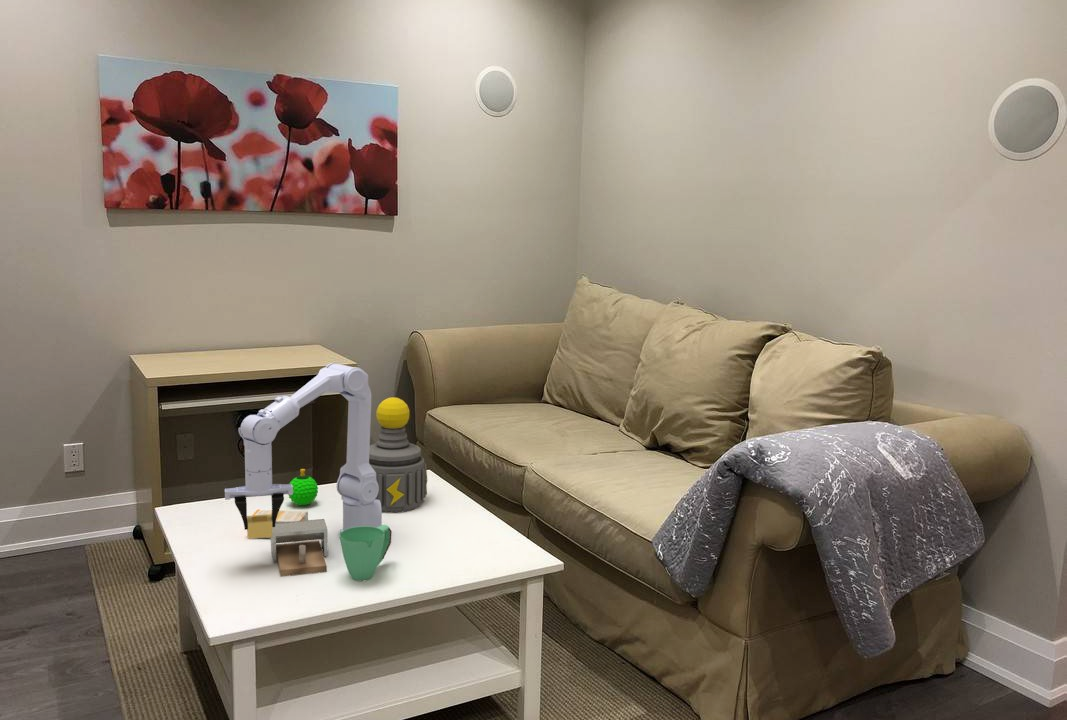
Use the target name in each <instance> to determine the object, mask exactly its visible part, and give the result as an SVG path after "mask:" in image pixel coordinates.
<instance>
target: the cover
mask: <svg viewBox="0 0 1067 720" xmlns="http://www.w3.org/2000/svg"><path fill="white" fill-rule="evenodd" d="M328 531H329V530H328V527H327V524H326V520H325V518H318V519H308V520H304V521H292V522H280V523H275V527H272V537H271V538H270V551H271V558H272V562H277V552H276V544H284V543H295V542H306V541H317V540H319V541H320V545H321V549H322V552H323V555H324V557H328V554H329V551H328V549H329V548H328V547H329V545H328V539H329V537H328V536H329V535H328V534H329V533H328Z"/></svg>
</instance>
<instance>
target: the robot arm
mask: <svg viewBox="0 0 1067 720" xmlns="http://www.w3.org/2000/svg"><path fill="white" fill-rule="evenodd" d="M330 392H332V393H339V394H340V395H342V397H344V399H346V400H347V401H348V402H347V403H348V407H347V408H348V409H347V434H346V435H347V437H346V438H347V439H346V442H347V443H346V463H345V464H344V465H342V466H341V467H340V469H339V476H338V478H337V480H336V491H337V493H338V494H339V495H340V496H341V497H340V498H341V500H342V528H339V534H340V533H341V532H342V531H344V530H346V529H348V528H352V527H360V526H370V527H376V528H378V527H379V526H381V525H383V524H382V523H383V522H382V519H383V518H382V513H383V512H382V510H381V503H380V500H375V498H376V497H377V495H378V491H379V486H378V483H377V480H376V472H375V471H374V470H373V468H372V467H371V465H370V464H369V450H370V445H371V444H370V443H371V418H372V416H371V415H372V391H371V387H370V386H369V374H368V373H367V372H365V370H363V369H362V368H360V367H359V366H357V367H356V366H354V367H353V366H349V365H344V364H340V363H338V362H331V363H329V364H326V366H325V367H323V368H320V369H319V371H318V374H317V375H316V376H314V377H313V378H311V380H309V381H308V382H307V383H306V384H305V385H303V386H302V387H301V388H300V389H298V390H297V391H296V392H295V393H293V394H291V396H288V395H287V396H286V395H282V396H279V395H278V396H276V397H275V398H274V402H272V403H270V404H268V405H267V406H266V407H265V408H263V409H260V410H258V412H257V414H249V415H247V416H246V417H244V419H243V420H242V422H241V424H240V427H238V434H239V436H240V437H241V438H242V440H243V446H244V471H245V472H244V474H245V476H244V477H245V479H244V480H245V481H244V482H245V485H244V486H243V485H242V486H238V487H237V486H236V487H230V488H224V500H226V501H227V500H228V501H229V500H231V499H234V504H235V507H236V509H237V510H238V512H239V514H240V515H241V516H240V517H241V518H242V521H243V527H244V530H247V529H248V522H247V516H248V514H247V513H248V512H247V511H248V509H247V498H255V497H267V496H268V497H269V496H271V510H272V527H275V523H276V518H277V515H278V512H279V510H280V509H281V507H282V505H283V503H284V501H285V497H284V495H288V496H289V495H293V486H292V484H289V483H287V484H285V483H283V484H282V483H273V465H272V464H273V463H272V462H273V457H272V456H273V453H272V452H273V451H272V449H273V447H272V442H273V441H274V440H275V438H276V436H277V434H278V433H279V431H280V429H282V428H284V427H285V426H286V425H287V424H289V423H290V422H292V421H293V420H294V419H296V418H297V417H298V416H299V415H300V409H301V408H303V407H304V406H306V405H308V404H310V403H312V401H314V400H316V399H317V398H319V397H320V396H322V395H323V394H325V393H330Z"/></svg>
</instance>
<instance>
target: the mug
mask: <svg viewBox="0 0 1067 720" xmlns="http://www.w3.org/2000/svg"><path fill="white" fill-rule="evenodd" d="M392 532H393V531H392V529H391V528H390V526H389V525H387V524H382V525H381V526H379V527H378V528H376V527H370V526H360V527H352V528H348V529H346V530H344V531H342V532H341V533H340V532H339V538H338V539H339V542H340V546H341V547H340V548H341V551H342V555H343V560H344V563H345V566H346V568H347V571H348V573H349V576H350V579H352V580H353V579H354V580H353V581H356V580H361V581H360V582H364V581H363V580H366V581H370V580H371V579H372V577H373V578H374V575H375V573H376V570H377V568H378V566H379V565H380V564H381V562H382V561H383V560H384V559H385V556H386V554H387V552H388V551H389V548H390V545H391V543H392Z"/></svg>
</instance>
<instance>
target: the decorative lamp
mask: <svg viewBox="0 0 1067 720" xmlns="http://www.w3.org/2000/svg"><path fill="white" fill-rule="evenodd" d="M375 414H376V415H375V416H376V420H377V423H378V424H379V425H380V426H381V427H380V432H379V434H378V439H377V441H376V442H375V443H372V444H370V450H369V464H370V465H371V467H372V468H373V470H374V471H375V472H376V480H377V483H378V486H379V491H378V495H377V497H376V498H375V500H380V503H381V510H382V513H401V512H402V511H403V512H407V511H412V509H413V510H415V509H417V508H419V507H420V506H422V505H423V503H424V501H425V500H424V499H425V498H426V496H427V494H428V492H427V491H428V488H427V487H428V485H427V483H428V472H427V464H426V462H425V458H424V457H423V456H422V448H421V447H420V446H418V445H416V444H414V443H411V442H409V439H407V438H408V433H407V432H406V425H407V424H408V422H409V420H410V408H409V406H408V404H407V403H406V402H405V401H404V400H403V399H401V398H399V397H387V398H386V399H384V400H382V401H381V402H380V403H379V404H378V406H377V409H376V413H375Z"/></svg>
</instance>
